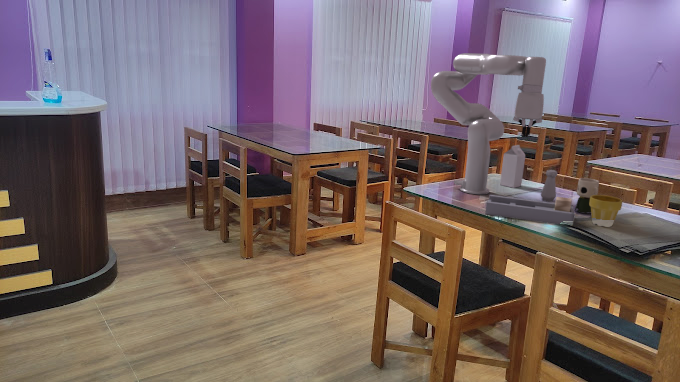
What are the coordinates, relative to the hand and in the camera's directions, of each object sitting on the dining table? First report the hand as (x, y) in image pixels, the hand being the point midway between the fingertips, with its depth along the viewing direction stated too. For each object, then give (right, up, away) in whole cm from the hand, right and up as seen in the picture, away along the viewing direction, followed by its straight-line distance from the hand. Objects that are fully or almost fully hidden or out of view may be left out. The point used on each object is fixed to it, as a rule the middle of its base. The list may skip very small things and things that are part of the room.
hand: (525, 136), depth 200 cm
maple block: (+7, -29, -16) cm, 34 cm away
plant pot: (+21, -34, -18) cm, 44 cm away
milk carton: (+6, -19, +36) cm, 42 cm away
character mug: (+21, -30, -4) cm, 37 cm away
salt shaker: (+14, -26, +12) cm, 31 cm away
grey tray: (-3, -31, -11) cm, 33 cm away
